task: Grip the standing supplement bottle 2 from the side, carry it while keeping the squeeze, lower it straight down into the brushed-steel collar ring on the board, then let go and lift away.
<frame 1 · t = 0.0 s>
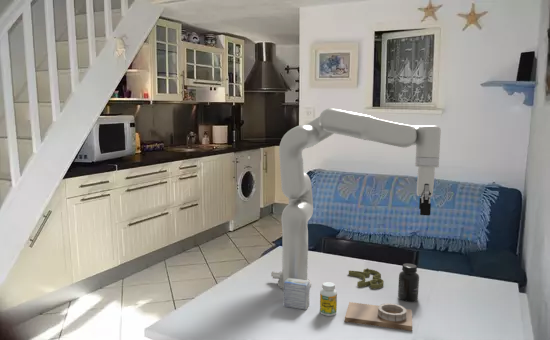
hand: (424, 212, 153), 31 cm above the table, tool pointing down, fingers open, 9 cm apart
cookie cutter: (367, 281, 176), on the table
supplement bottle 2: (328, 313, 146), on the table
medicine box: (296, 306, 151), on the table
collar board: (378, 317, 143), on the table
supplement bottle: (407, 299, 158), on the table
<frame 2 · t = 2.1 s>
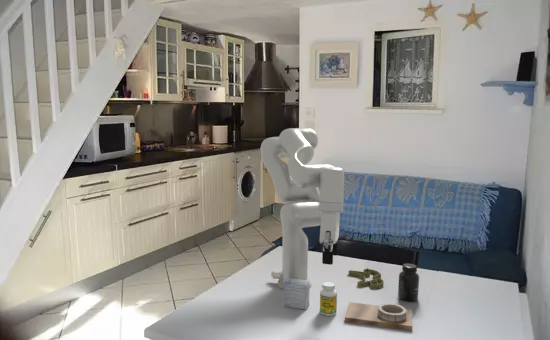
hand: (330, 259, 144), 18 cm above the table, tool pointing down, fingers open, 9 cm apart
nothing on the table moved.
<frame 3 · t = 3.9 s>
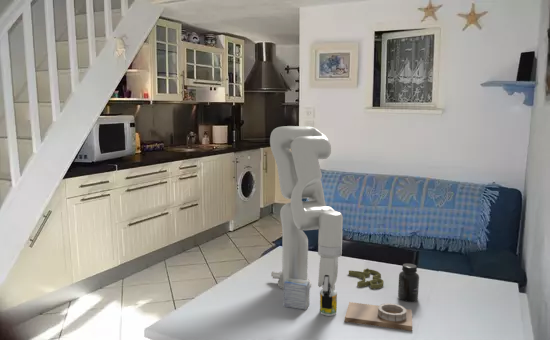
hand: (328, 303, 146), 3 cm above the table, tool pointing down, fingers closed on supplement bottle 2, 5 cm apart
supplement bottle 2: (328, 313, 146), on the table, touching gripper
everything else where it was.
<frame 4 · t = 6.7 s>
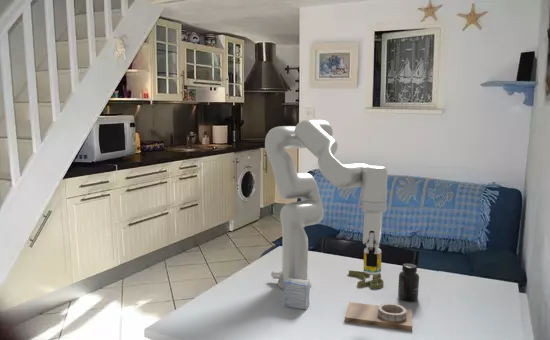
hand: (372, 262, 141), 18 cm above the table, tool pointing down, fingers closed on supplement bottle 2, 5 cm apart
supplement bottle 2: (372, 272, 141), point 15 cm above the table, touching gripper
everything else where it was.
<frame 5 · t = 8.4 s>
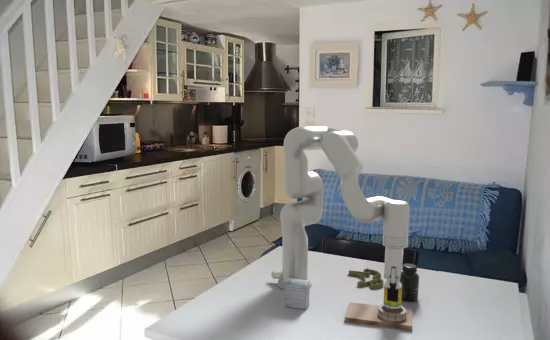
hand: (392, 296, 141), 8 cm above the table, tool pointing down, fingers closed on supplement bottle 2, 5 cm apart
supplement bottle 2: (392, 306, 141), point 4 cm above the table, touching gripper
everything else where it was.
when the fingers open (5 cm above the table, at t = 9.6 s): supplement bottle 2 stays where it is, resting on collar board.
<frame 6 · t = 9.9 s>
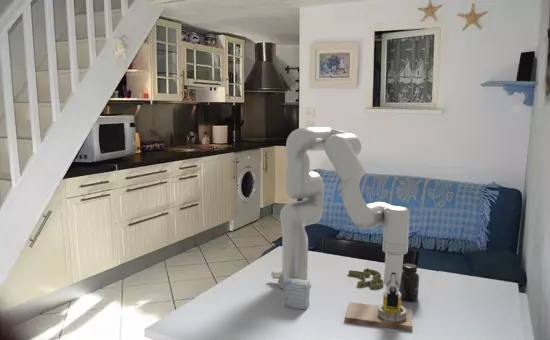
hand: (392, 300, 141), 6 cm above the table, tool pointing down, fingers open, 8 cm apart
supplement bottle 2: (391, 315, 141), point 1 cm above the table, touching collar board
everything else where it was.
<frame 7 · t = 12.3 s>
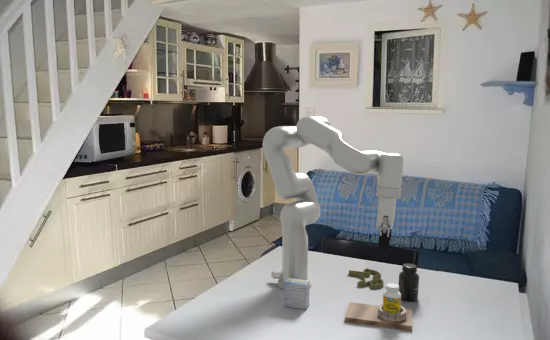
hand: (384, 244, 146), 22 cm above the table, tool pointing down, fingers open, 9 cm apart
nothing on the table moved.
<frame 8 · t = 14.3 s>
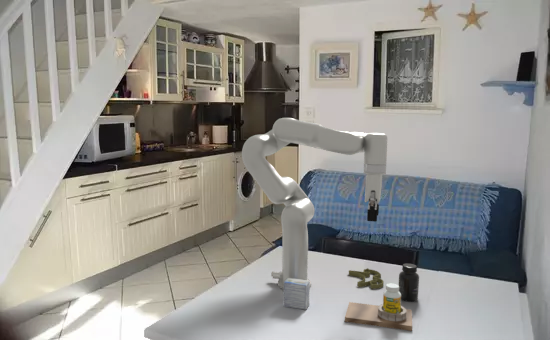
hand: (372, 218, 157), 28 cm above the table, tool pointing down, fingers open, 9 cm apart
nothing on the table moved.
at the end: supplement bottle 2 0.2 cm from the target spot on the collar board, point 1.3 cm above the collar board's base; supplement bottle 2 tilted 0°; the gripper is holding nothing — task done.
